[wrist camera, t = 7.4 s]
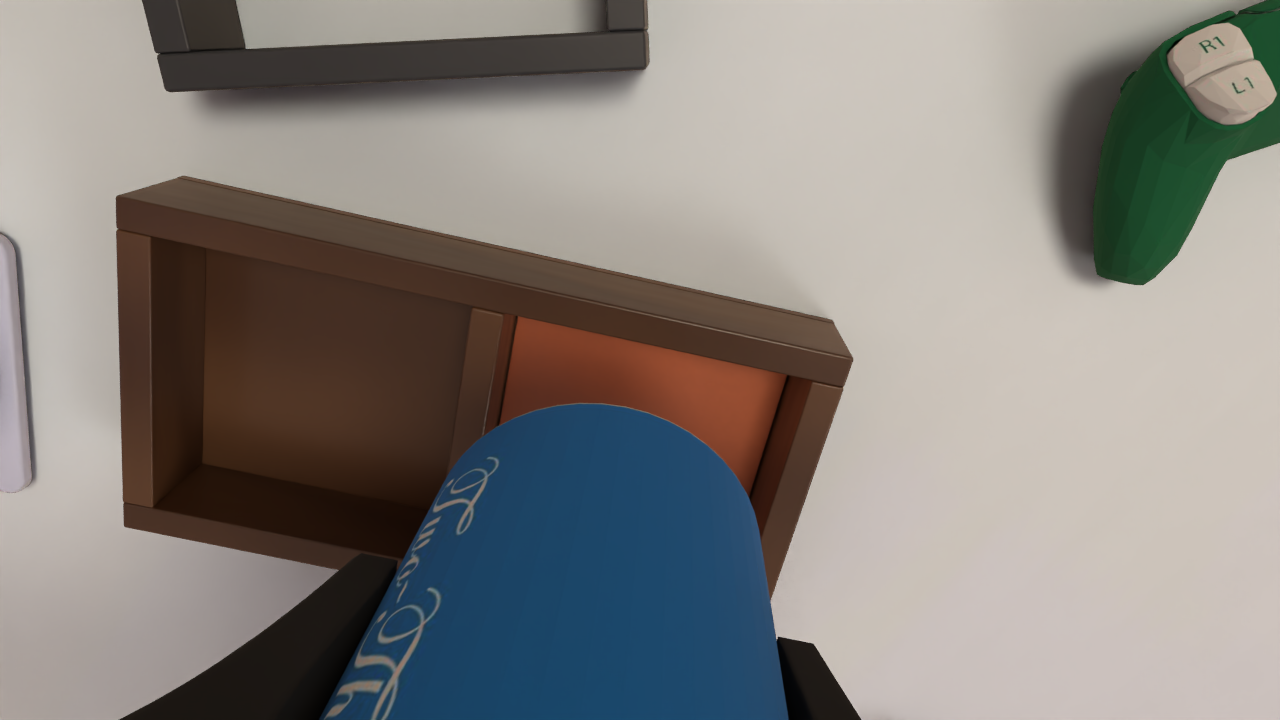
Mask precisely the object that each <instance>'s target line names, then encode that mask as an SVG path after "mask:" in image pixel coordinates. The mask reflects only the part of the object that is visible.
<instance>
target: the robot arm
mask: <svg viewBox="0 0 1280 720" xmlns="http://www.w3.org/2000/svg"><path fill="white" fill-rule="evenodd" d="M31 479H32V472H31V459H30V445H29V432H28V418H27V404H26V391H25V377H24V363H23V350H22V336H21V323H20V309H19V295H18V282H17V268H16V255H15V250H14V247H13V245H12V244H11V242H10V241H9V239H7V238H6V237H5V236H4V235H2V234H0V491H3V492H8V493H16V492H19V491H21V490H22V489H24V488H25V487H27V486H28V485H29V484H30V482H31ZM397 563H398V560H393V559H388V558H383V557H378V556H373V555H368V554H363V553H361V554H359V555H357V556H355V557H354V558H353V559H351V560H350V561H349V562H348V563H347V564H346V565H345V566H343V567H342V568H341V569H340V570H339V571H338V572H337V573H335V574H334V575H333V576H332V577H331V578H330V579H328V580H327V581H326V582H325V583H324V584H322V585H321V586H320V587H319V588H318V589H316V590H315V591H314V592H313V593H312V594H310V595H309V596H308V597H307V598H305V599H304V600H303V601H302V602H300V603H299V604H298V605H297V606H295V607H294V608H293V609H291V610H290V611H289V612H288V613H286V614H285V615H284V616H282V617H281V618H280V619H278V620H277V621H276V622H275V623H273V624H272V625H271V626H269V627H268V628H267V629H265V630H264V631H263V632H261V633H260V634H258V635H257V636H256V637H254V638H253V639H251V640H250V641H248V642H247V643H246V644H244V645H243V646H241V647H240V648H238V649H237V650H235V651H234V652H233V653H231V654H230V655H228V656H227V657H225V658H224V659H222V660H221V661H220V662H218V663H217V664H215V665H213V666H212V667H210V668H209V669H207V670H206V671H204V672H202V673H201V674H199V675H198V676H196V677H195V678H193V679H191V680H190V681H188V682H186V683H185V684H183V685H181V686H180V687H178V688H176V689H174V690H173V691H171V692H169V693H168V694H166V695H164V696H163V697H161V698H159V699H157V700H155V701H154V702H152V703H150V704H148V705H146V706H144V707H142V708H141V709H139V710H137V711H135V712H133V713H131V714H129V715H127V716H125V717H123V718H121V719H119V720H319V718H320V716H321V714H322V713H323V711H324V709H325V707H326V705H327V703H328V701H329V699H330V697H331V695H332V694H333V692H334V690H335V688H336V686H337V684H338V682H339V680H340V678H341V677H342V675H343V673H344V671H345V669H346V667H347V665H348V663H349V661H350V659H351V658H352V656H353V654H354V652H355V650H356V648H357V646H358V644H359V642H360V640H361V639H362V637H363V635H364V633H365V631H366V629H367V627H368V625H369V623H370V621H371V620H372V618H373V616H374V614H375V612H376V610H377V608H378V606H379V604H380V602H381V601H382V599H383V597H384V595H385V593H386V591H387V589H388V587H389V585H390V583H391V582H392V580H393V578H394V576H395V574H396V571H397ZM777 648H778V654H779V661H780V667H781V673H782V680H783V686H784V693H785V699H786V705H787V712H788V718H789V720H861V718H860V717H859V715H858V714H857V712H856V711H855V709H854V707H853V706H852V704H851V703H850V701H849V700H848V698H847V696H846V695H845V693H844V692H843V690H842V689H841V687H840V685H839V684H838V682H837V681H836V679H835V677H834V676H833V674H832V673H831V671H830V669H829V668H828V666H827V665H826V663H825V661H824V660H823V658H822V657H821V655H820V653H819V652H818V650H817V649H816V647H815V646H814V644H812V643H807V642H802V641H797V640H792V639H787V638H782V637H778V639H777Z"/></svg>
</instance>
